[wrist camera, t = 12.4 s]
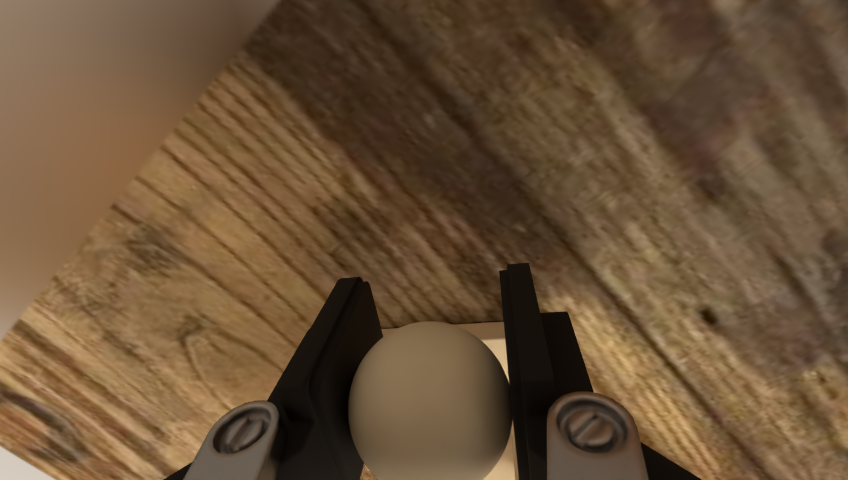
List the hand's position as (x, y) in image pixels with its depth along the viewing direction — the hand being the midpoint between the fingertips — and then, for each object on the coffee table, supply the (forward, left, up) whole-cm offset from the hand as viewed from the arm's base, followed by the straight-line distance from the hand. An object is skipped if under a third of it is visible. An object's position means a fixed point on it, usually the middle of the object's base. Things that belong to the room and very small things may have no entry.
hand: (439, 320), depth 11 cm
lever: (+2, -5, +2) cm, 5 cm away
